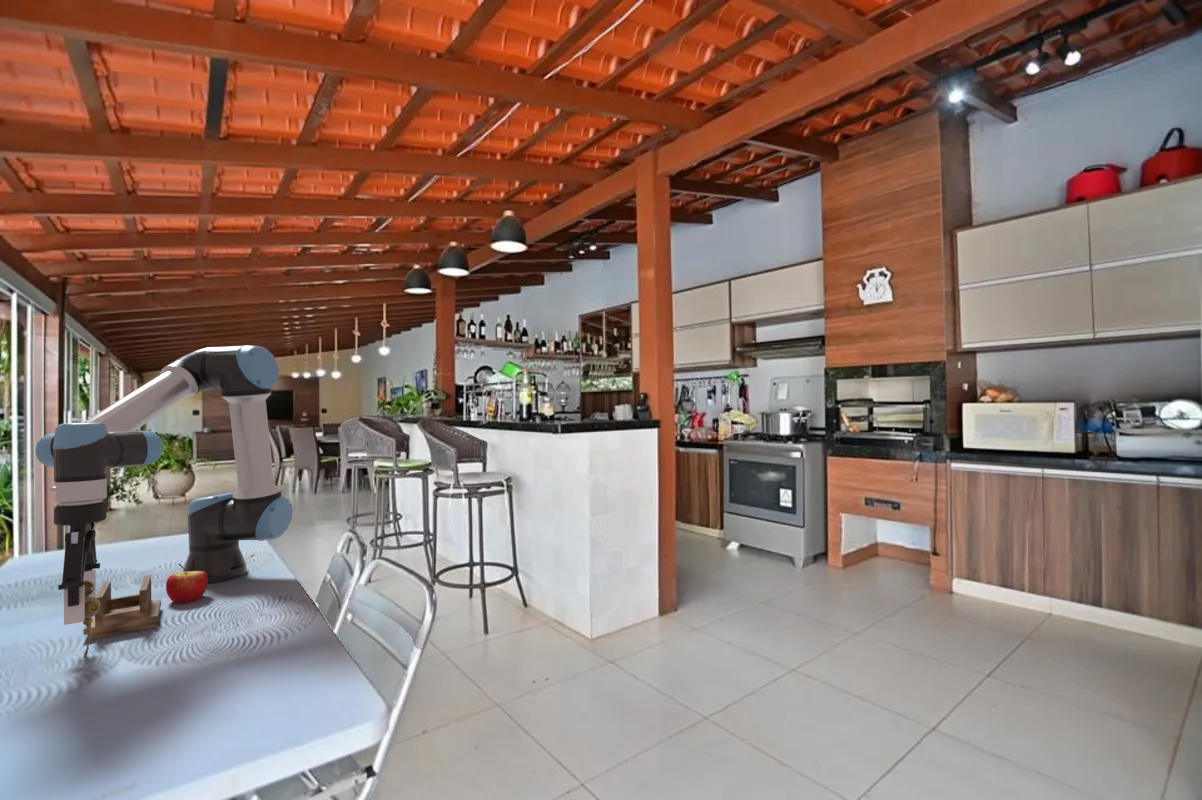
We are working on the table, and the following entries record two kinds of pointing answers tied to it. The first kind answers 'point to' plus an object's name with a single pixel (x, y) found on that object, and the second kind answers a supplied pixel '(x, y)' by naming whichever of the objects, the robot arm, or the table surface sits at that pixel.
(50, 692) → the table surface
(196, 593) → the apple
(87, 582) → the regulator
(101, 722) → the table surface
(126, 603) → the stand
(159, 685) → the table surface
